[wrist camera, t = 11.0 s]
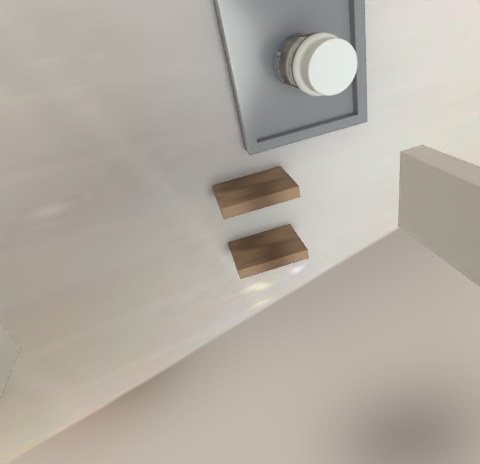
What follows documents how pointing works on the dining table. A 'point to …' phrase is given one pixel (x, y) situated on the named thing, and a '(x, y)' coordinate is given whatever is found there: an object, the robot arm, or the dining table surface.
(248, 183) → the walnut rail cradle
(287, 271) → the dining table surface
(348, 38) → the slate tray
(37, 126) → the dining table surface
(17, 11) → the dining table surface
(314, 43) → the pill bottle
